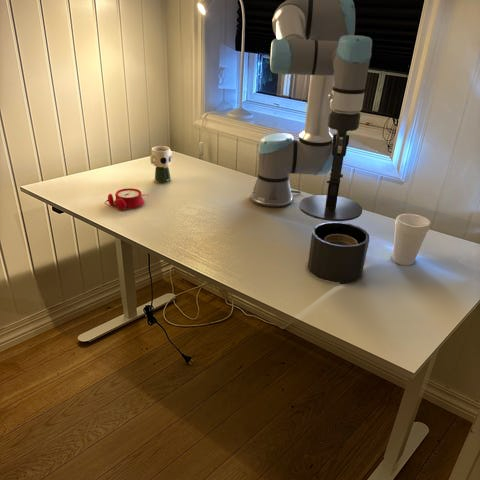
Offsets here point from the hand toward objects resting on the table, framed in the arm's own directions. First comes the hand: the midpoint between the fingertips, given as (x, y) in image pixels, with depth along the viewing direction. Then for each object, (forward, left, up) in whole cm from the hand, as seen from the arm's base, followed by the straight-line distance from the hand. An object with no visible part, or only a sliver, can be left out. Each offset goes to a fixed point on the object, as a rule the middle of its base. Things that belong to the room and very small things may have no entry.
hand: (331, 204), depth 129 cm
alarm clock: (+10, -77, -20) cm, 80 cm away
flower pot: (-2, +3, -19) cm, 20 cm away
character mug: (-16, -86, -20) cm, 90 cm away
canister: (-2, +3, -20) cm, 20 cm away
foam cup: (-22, +15, -20) cm, 33 cm away
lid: (0, 0, -1) cm, 1 cm away
